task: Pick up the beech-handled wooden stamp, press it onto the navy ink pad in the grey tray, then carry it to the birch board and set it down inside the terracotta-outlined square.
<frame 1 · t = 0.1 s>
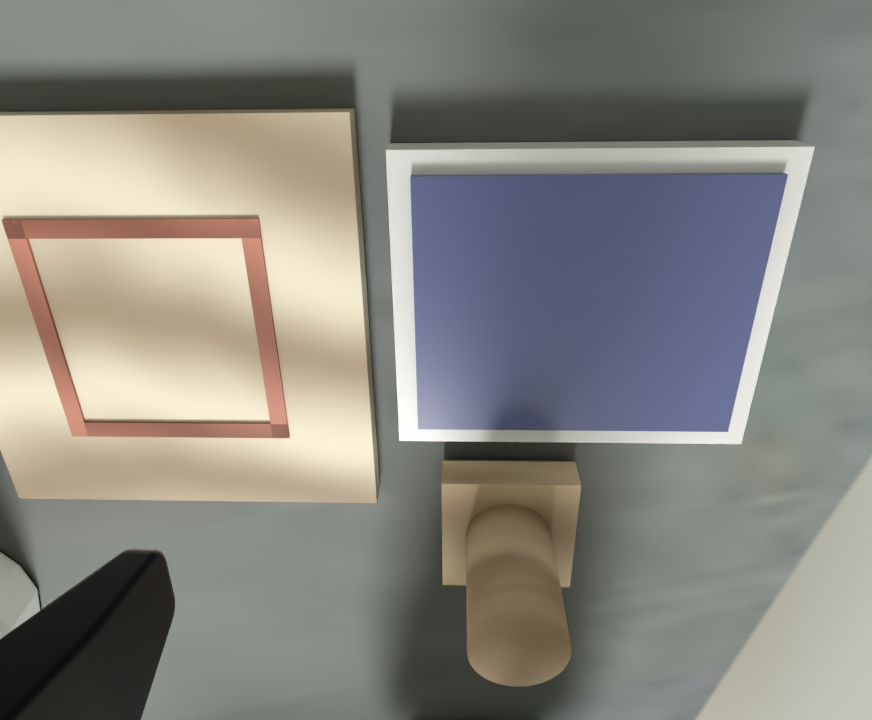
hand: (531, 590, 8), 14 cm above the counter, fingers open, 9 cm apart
board: (169, 324, 22), on the counter
stamp: (505, 506, 26), on the counter
ink pad: (575, 297, 21), on the counter
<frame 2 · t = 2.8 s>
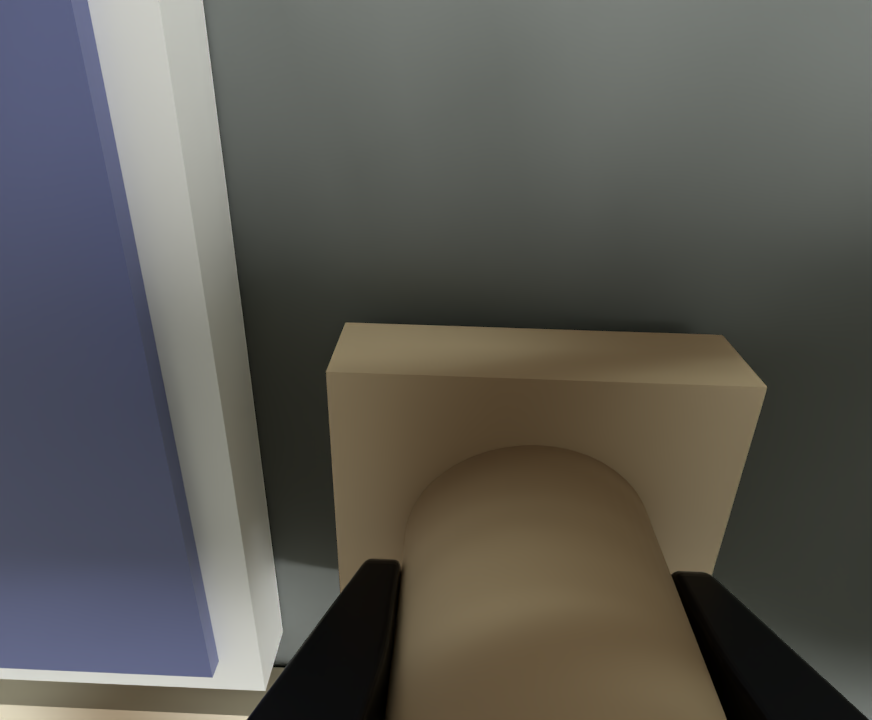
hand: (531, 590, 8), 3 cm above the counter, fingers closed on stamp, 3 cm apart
stamp: (515, 463, 10), on the counter, touching gripper
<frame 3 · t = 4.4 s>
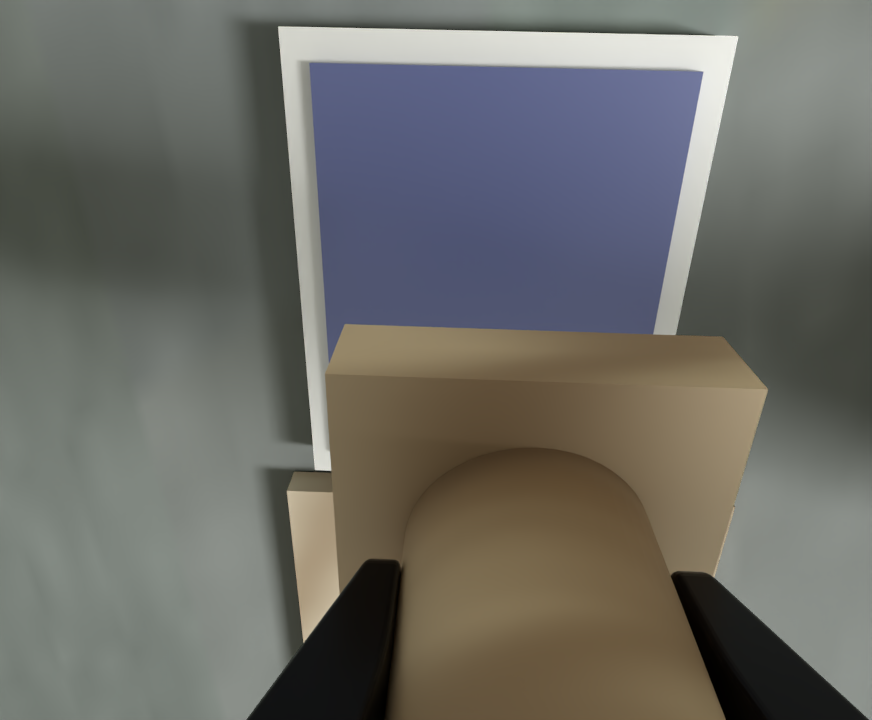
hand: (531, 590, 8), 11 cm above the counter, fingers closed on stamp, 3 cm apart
board: (494, 628, 24), on the counter
stamp: (515, 465, 10), point 9 cm above the counter, touching gripper
ink pad: (488, 274, 18), on the counter
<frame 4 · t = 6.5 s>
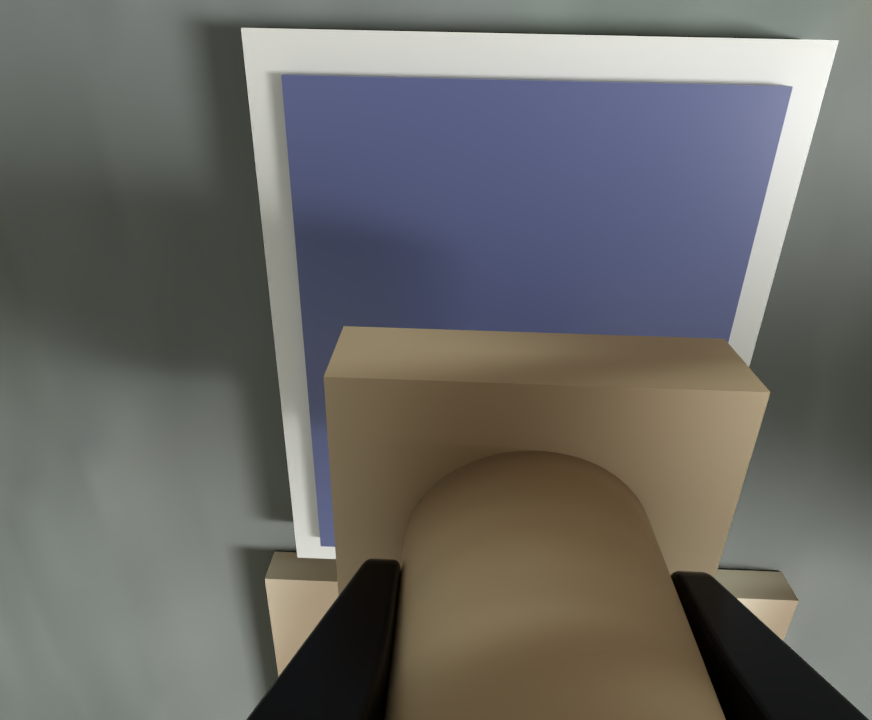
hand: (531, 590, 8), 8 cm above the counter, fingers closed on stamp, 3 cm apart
stamp: (515, 468, 10), point 5 cm above the counter, touching gripper
ink pad: (507, 330, 15), on the counter
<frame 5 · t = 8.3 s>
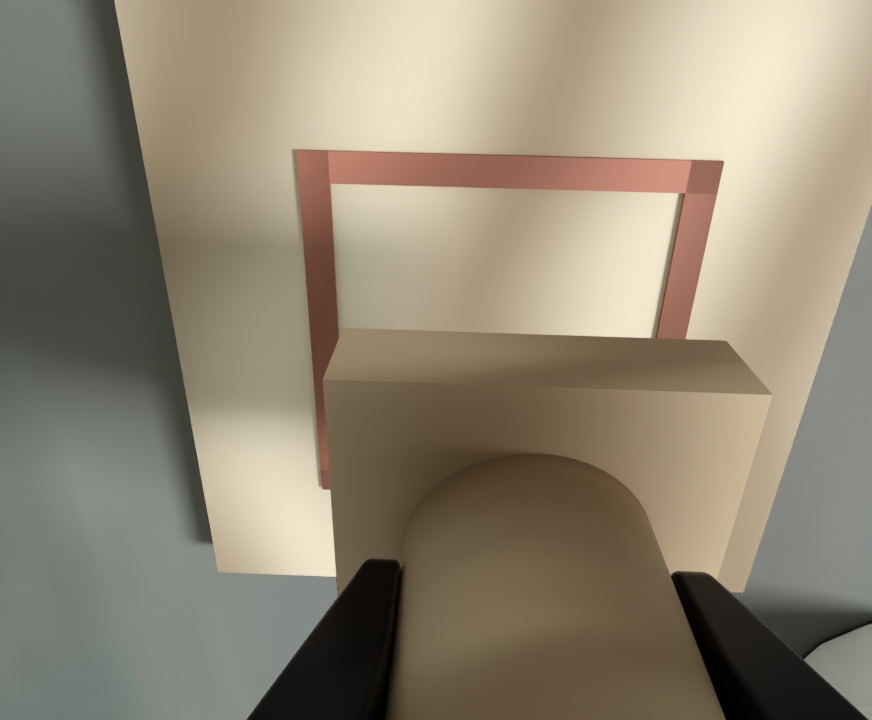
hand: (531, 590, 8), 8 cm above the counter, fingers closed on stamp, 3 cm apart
board: (493, 327, 15), on the counter
stamp: (516, 470, 10), point 5 cm above the counter, touching gripper
when the fingers open (4 cm above the counter, at t = 10.2 s): stamp stays where it is, resting on board.
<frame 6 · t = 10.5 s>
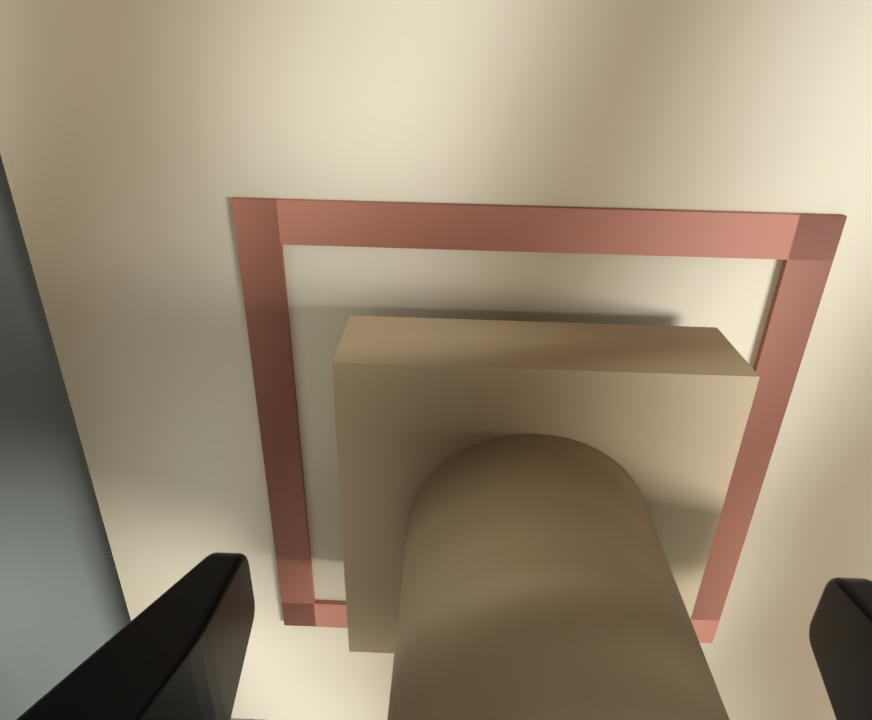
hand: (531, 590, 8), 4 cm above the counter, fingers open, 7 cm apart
board: (508, 421, 11), on the counter
stamp: (515, 454, 10), point 1 cm above the counter, touching board
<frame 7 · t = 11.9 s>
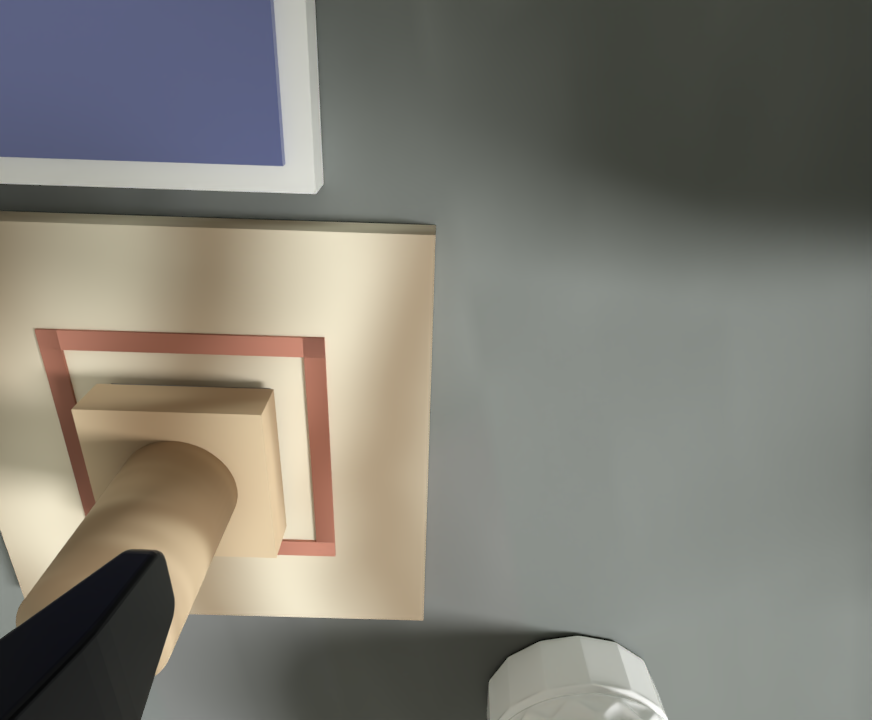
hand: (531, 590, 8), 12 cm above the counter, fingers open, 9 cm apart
white cup: (567, 686, 26), on the counter
board: (210, 433, 21), on the counter
stamp: (201, 451, 20), point 1 cm above the counter, touching board
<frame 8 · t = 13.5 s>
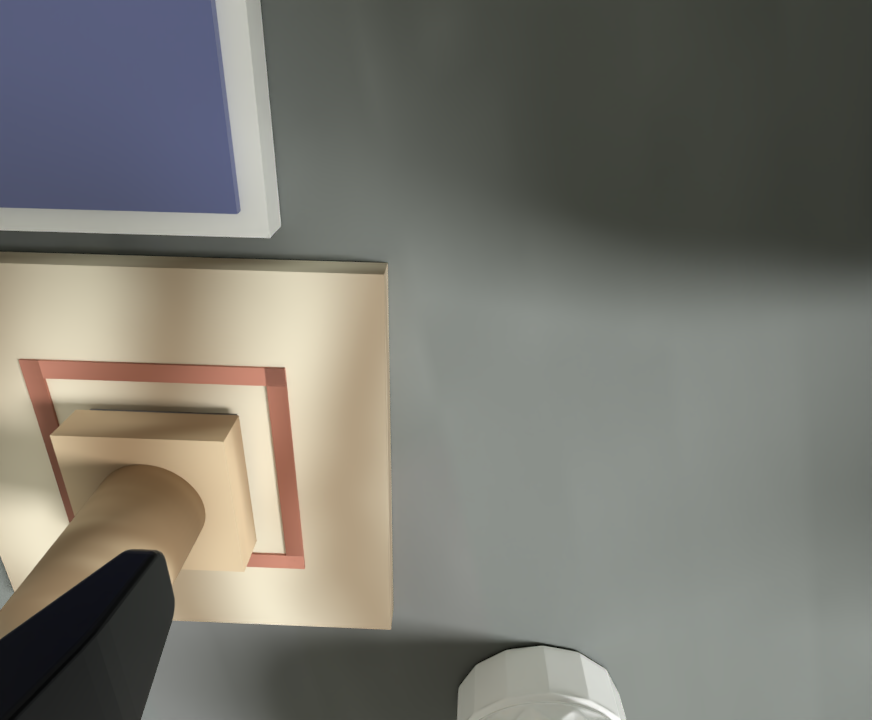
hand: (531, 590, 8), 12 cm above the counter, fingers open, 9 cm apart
white cup: (535, 693, 27), on the counter
board: (186, 453, 22), on the counter
stamp: (176, 471, 21), point 1 cm above the counter, touching board
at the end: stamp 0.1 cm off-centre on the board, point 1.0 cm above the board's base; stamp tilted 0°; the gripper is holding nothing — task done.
